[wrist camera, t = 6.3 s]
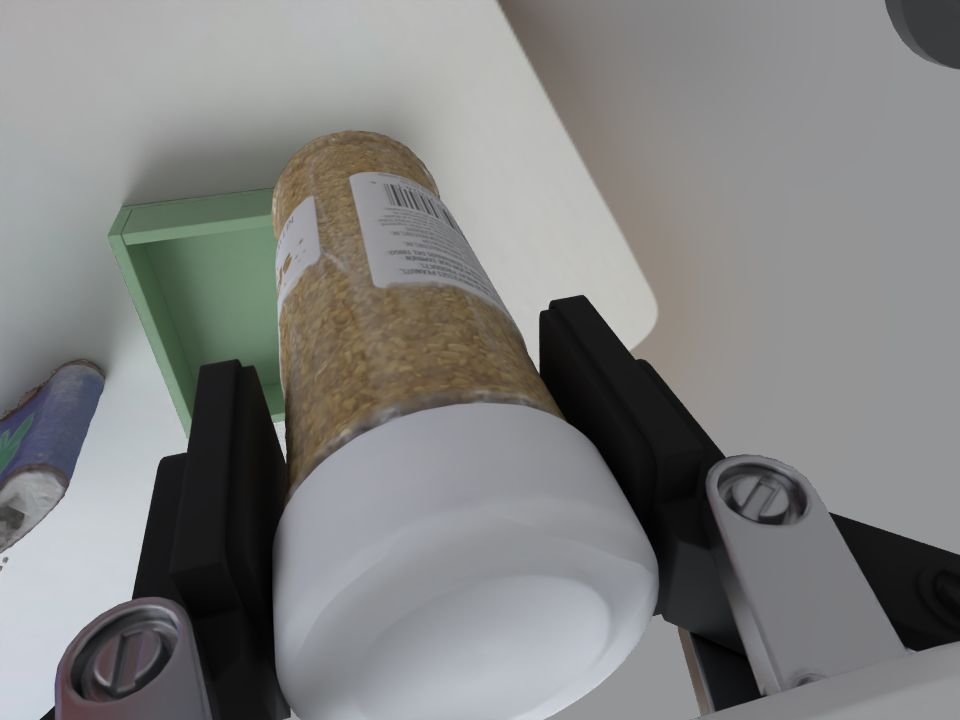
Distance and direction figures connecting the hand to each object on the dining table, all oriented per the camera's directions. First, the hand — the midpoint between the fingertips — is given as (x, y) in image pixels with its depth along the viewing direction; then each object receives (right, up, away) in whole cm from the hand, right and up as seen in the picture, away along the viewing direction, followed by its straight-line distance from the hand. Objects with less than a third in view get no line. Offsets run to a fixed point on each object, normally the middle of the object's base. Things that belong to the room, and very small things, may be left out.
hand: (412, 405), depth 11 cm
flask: (-24, -2, +26) cm, 35 cm away
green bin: (-10, +4, +26) cm, 28 cm away
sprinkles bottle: (-2, +5, +7) cm, 9 cm away
